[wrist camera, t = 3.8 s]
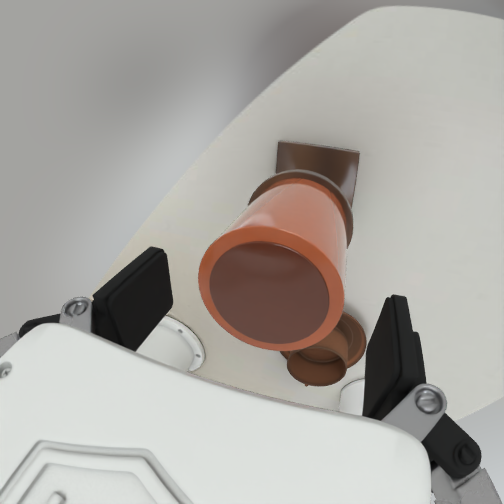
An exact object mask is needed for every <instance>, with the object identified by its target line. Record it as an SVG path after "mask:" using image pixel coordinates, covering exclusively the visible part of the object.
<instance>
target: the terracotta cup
mask: <svg viewBox="0 0 504 504" xmlns="http://www.w3.org/2000/svg"><path fill="white" fill-rule="evenodd" d="M346 257H347V220H346V215H345V212H344V209H343V207H342V205H341V204H340V202H339V200H338V199H337V198H336V197H335V195H334V194H333V193H332V192H330V191H329V190H328V189H327V188H325V187H324V186H322V185H320V184H318V183H316V182H314V181H311V180H307V179H300V178H291V179H285V180H281V181H278V182H276V183H274V184H272V185H270V186H269V187H267V188H266V189H265V190H264V191H263V192H262V193H261V194H260V195H259V196H258V197H257V198H256V199H255V200H254V201H253V202H252V203H251V204H250V205H249V206H248V207H247V208H246V209H245V210H244V211H243V212H242V213H241V214H240V215H239V216H238V217H237V218H236V219H235V220H234V221H233V222H232V223H231V224H230V225H229V226H228V228H227V229H226V230H225V231H224V232H223V233H222V234H221V235H220V236H219V237H218V238H217V239H216V240H215V241H214V242H213V243H212V244H211V245H210V247H209V248H208V249H207V251H206V252H205V254H204V256H203V258H202V260H201V263H200V267H199V273H198V283H199V290H200V293H201V297H202V299H203V302H204V304H205V306H206V308H207V310H208V311H209V313H210V314H211V316H212V317H213V318H214V319H215V321H216V322H217V323H218V324H219V325H220V326H221V327H222V328H223V329H225V330H226V331H227V332H228V333H230V334H231V335H233V336H234V337H236V338H237V339H239V340H241V341H243V342H245V343H247V344H250V345H252V346H255V347H259V348H262V349H267V350H274V351H292V350H298V349H303V348H306V347H309V346H311V345H313V344H315V343H317V342H319V341H321V340H322V339H324V338H325V337H326V336H327V335H328V334H329V333H330V332H331V331H332V330H333V329H334V328H335V326H336V325H337V323H338V321H339V320H340V317H341V315H342V312H343V307H344V299H345V282H346Z"/></svg>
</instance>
